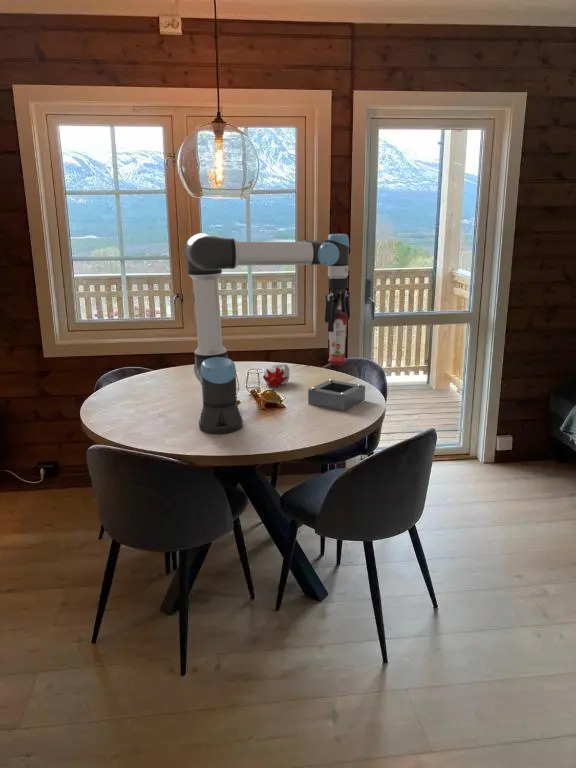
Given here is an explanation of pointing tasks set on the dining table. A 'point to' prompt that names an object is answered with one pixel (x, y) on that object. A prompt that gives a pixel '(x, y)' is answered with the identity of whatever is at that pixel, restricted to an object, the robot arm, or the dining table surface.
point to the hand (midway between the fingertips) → (337, 338)
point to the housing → (336, 395)
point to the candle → (276, 375)
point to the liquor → (338, 338)
